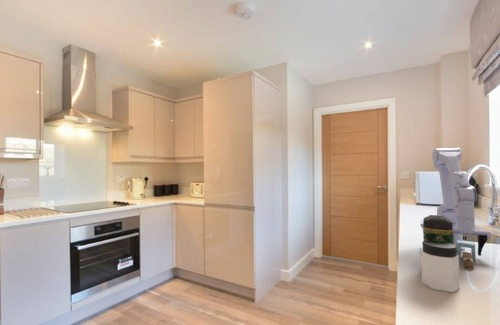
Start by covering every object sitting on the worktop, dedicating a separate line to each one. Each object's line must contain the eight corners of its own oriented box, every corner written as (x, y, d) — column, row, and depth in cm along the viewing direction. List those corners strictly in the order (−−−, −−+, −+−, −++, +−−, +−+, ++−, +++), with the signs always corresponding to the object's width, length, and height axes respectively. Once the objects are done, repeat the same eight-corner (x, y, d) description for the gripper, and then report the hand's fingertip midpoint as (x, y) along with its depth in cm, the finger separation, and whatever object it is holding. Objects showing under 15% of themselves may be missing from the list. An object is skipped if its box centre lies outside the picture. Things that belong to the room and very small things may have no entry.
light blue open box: (457, 254, 103) (457, 240, 104) (474, 256, 100) (474, 242, 100) (457, 257, 99) (457, 242, 100) (475, 260, 96) (475, 245, 97)
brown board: (462, 258, 98) (462, 250, 98) (471, 259, 96) (470, 251, 96) (464, 268, 88) (464, 259, 88) (473, 269, 87) (473, 260, 87)
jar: (451, 295, 69) (449, 250, 69) (417, 284, 76) (416, 243, 76) (463, 287, 74) (462, 244, 74) (431, 277, 80) (430, 238, 81)
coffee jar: (423, 266, 90) (422, 212, 91) (452, 271, 86) (450, 214, 86) (424, 275, 82) (423, 217, 82) (456, 281, 77) (454, 219, 78)
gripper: (441, 217, 102) (442, 252, 101) (491, 221, 93) (493, 259, 92) (441, 215, 107) (442, 247, 107) (489, 218, 98) (490, 254, 98)
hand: (466, 253), depth 100 cm, fingers open, 7 cm apart
